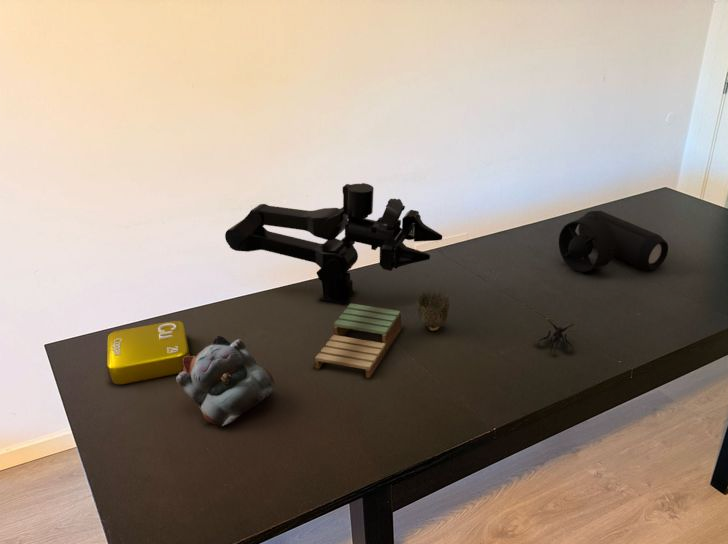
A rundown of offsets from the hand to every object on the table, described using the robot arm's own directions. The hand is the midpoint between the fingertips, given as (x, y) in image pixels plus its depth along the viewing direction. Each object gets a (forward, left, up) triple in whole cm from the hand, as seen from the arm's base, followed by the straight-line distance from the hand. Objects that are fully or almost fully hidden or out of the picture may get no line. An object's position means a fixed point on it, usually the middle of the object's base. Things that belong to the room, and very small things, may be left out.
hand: (436, 247), depth 147 cm
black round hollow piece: (+31, +33, -17) cm, 49 cm away
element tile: (-51, -37, -17) cm, 65 cm away
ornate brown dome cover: (+2, -8, -17) cm, 19 cm away
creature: (+30, -7, -17) cm, 35 cm away
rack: (-11, -20, -17) cm, 28 cm away
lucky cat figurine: (-27, -46, -17) cm, 56 cm away
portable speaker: (+41, +46, -17) cm, 64 cm away
